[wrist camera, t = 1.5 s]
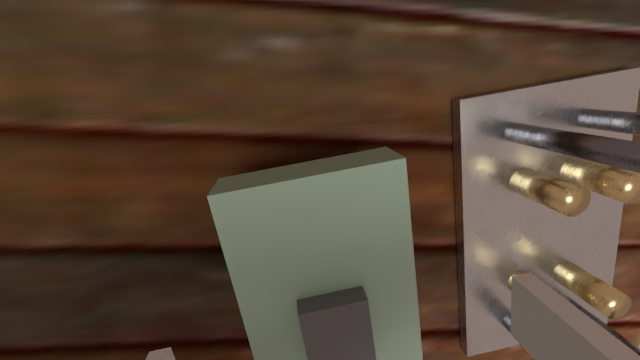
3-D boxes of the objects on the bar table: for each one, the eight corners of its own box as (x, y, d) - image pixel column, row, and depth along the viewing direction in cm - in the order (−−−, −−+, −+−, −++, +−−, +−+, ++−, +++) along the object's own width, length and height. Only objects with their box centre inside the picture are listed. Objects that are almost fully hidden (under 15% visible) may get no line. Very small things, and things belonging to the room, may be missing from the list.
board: (272, 374, 18) (270, 439, 15) (218, 178, 15) (200, 205, 11) (406, 343, 19) (433, 399, 15) (386, 146, 15) (416, 163, 12)
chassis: (460, 346, 26) (548, 475, 17) (451, 99, 20) (579, 109, 11) (595, 315, 27) (743, 423, 18) (625, 67, 21) (867, 55, 12)
